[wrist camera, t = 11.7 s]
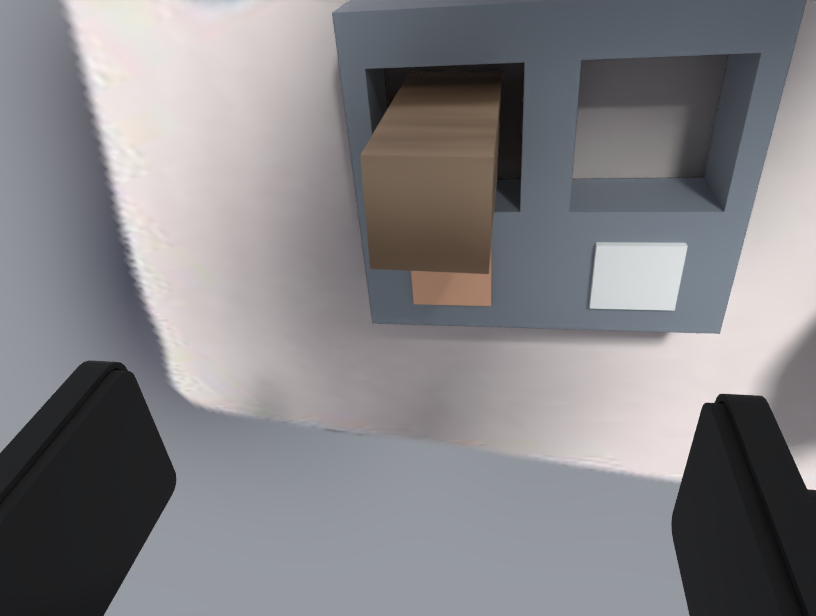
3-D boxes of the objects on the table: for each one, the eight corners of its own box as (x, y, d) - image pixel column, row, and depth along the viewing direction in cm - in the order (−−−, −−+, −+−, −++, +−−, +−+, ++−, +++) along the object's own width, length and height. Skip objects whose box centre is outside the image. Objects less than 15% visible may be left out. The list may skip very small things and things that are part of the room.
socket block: (353, -2, 25) (330, 14, 22) (774, -28, 23) (813, -13, 20) (385, 285, 33) (371, 326, 30) (701, 291, 31) (721, 337, 28)
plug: (409, 71, 27) (360, 155, 19) (502, 71, 26) (493, 157, 18) (412, 160, 29) (369, 269, 21) (498, 161, 29) (488, 274, 20)
